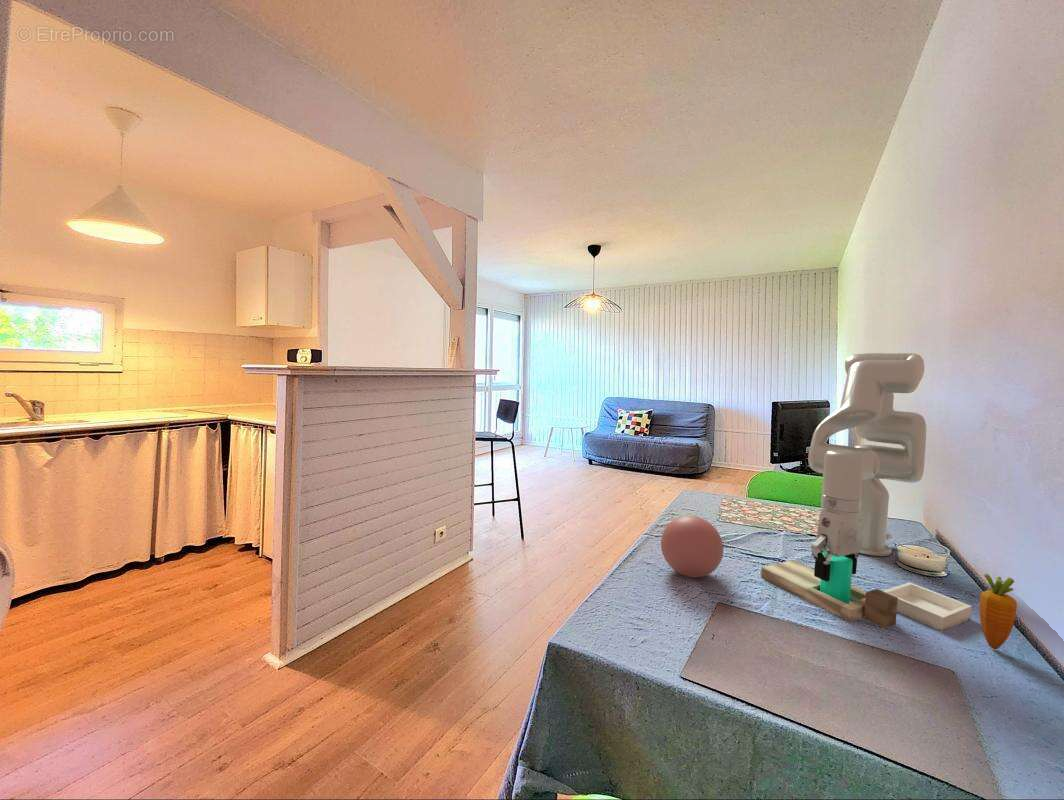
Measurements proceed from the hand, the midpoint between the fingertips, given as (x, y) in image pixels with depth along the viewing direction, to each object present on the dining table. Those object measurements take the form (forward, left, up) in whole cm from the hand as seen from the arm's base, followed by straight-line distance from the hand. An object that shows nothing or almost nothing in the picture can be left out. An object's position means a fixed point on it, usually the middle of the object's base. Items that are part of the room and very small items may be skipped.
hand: (835, 575), depth 105 cm
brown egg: (+20, -24, -6) cm, 32 cm away
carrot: (-11, +24, -6) cm, 27 cm away
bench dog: (0, +10, -6) cm, 11 cm away
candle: (0, 0, -6) cm, 6 cm away
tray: (-14, +11, -6) cm, 19 cm away
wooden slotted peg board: (0, -4, -6) cm, 7 cm away
